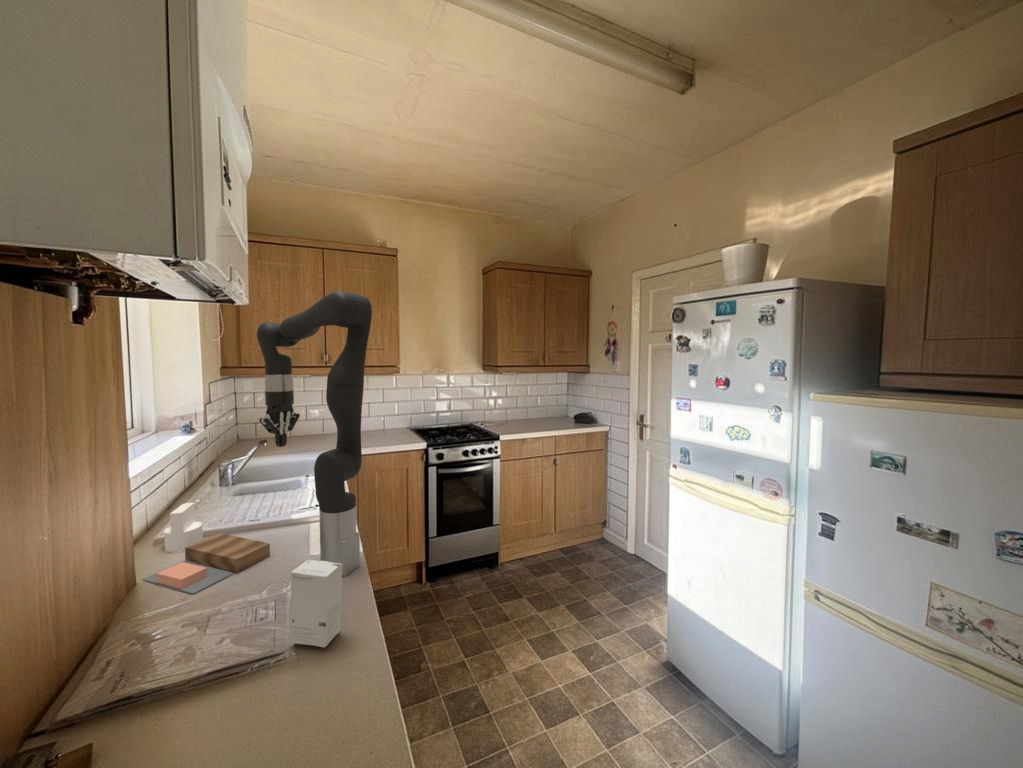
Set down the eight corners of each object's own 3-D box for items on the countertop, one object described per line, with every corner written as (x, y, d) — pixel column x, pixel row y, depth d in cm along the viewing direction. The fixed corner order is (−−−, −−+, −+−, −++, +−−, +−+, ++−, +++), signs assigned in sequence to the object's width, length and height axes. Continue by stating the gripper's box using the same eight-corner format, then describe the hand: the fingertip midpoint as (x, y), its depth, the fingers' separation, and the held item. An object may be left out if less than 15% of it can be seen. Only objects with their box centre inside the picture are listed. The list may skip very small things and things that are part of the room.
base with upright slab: (173, 542, 127) (171, 504, 126) (207, 538, 129) (206, 501, 129) (158, 555, 118) (156, 515, 117) (195, 551, 121) (194, 511, 120)
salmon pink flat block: (181, 579, 100) (182, 589, 100) (206, 567, 106) (206, 576, 106) (156, 573, 103) (157, 582, 103) (182, 562, 109) (182, 570, 109)
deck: (270, 556, 118) (269, 543, 117) (236, 573, 108) (236, 559, 108) (220, 545, 124) (220, 533, 124) (185, 561, 115) (184, 547, 115)
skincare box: (288, 644, 82) (287, 572, 81) (307, 625, 88) (306, 558, 87) (327, 648, 81) (326, 576, 80) (344, 628, 87) (342, 561, 86)
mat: (233, 574, 108) (233, 573, 108) (193, 594, 99) (193, 593, 98) (184, 562, 114) (184, 560, 114) (142, 580, 105) (142, 578, 105)
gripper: (269, 391, 116) (271, 451, 117) (306, 388, 128) (308, 442, 129) (249, 390, 118) (252, 449, 119) (288, 388, 131) (289, 441, 132)
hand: (281, 446), depth 124 cm, fingers closed
